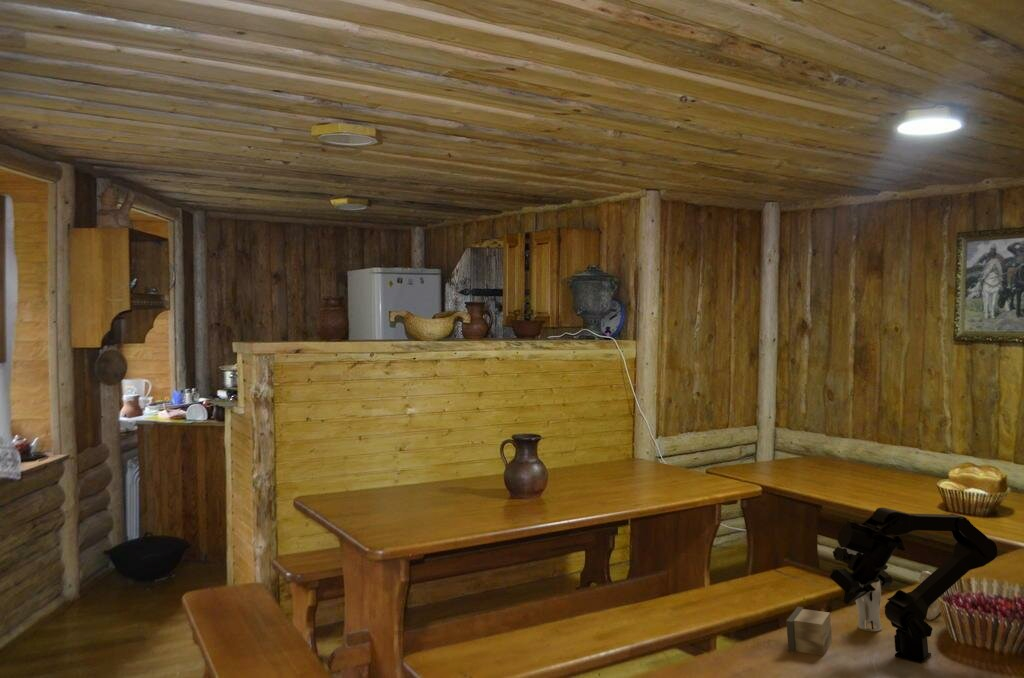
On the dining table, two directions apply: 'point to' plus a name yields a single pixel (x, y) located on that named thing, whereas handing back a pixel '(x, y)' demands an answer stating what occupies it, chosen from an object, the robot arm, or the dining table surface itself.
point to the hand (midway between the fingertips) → (845, 602)
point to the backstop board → (792, 629)
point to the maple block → (813, 632)
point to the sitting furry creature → (934, 607)
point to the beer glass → (870, 610)
